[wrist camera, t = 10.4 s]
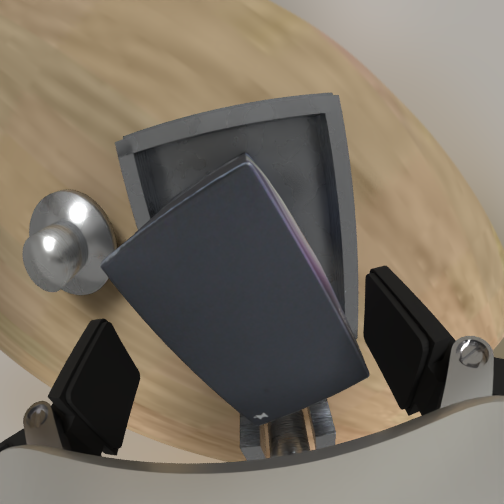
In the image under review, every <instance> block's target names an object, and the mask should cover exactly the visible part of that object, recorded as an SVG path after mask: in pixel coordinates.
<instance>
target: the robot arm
mask: <svg viewBox="0 0 504 504" xmlns="http://www.w3.org/2000/svg"><path fill="white" fill-rule="evenodd" d="M363 333H364V339H365V342H366V344H367V346H368V348H369V349H370V351H371V353H372V355H373V357H374V359H375V361H376V362H377V364H378V366H379V368H380V370H381V372H382V374H383V376H384V378H385V380H386V382H387V383H388V385H389V387H390V389H391V391H392V393H393V395H394V397H395V399H396V401H397V403H398V405H399V407H400V408H401V409H402V410H403V409H405V410H406V412H407V414H408V416H409V415H412V414H414V413H416V412H419V411H420V413H421V415H422V416H420V417H417V418H415V419H412V420H410V421H407V422H405V423H402V424H400V425H397V426H394V427H391V428H389V429H386V430H383V431H380V432H377V433H374V434H371V435H368V436H364V437H361V438H358V439H355V440H351V441H348V442H344V443H341V444H337V445H333V446H329V447H325V448H321V449H316V450H312V451H307V452H302V453H297V454H292V455H286V456H280V457H273V458H266V459H258V460H249V461H239V462H226V463H207V464H206V463H203V464H175V463H153V462H140V461H130V460H121V459H114V458H106V457H102V456H101V453H102V452H104V453H105V454H110V455H117V452H118V448H120V447H121V446H122V443H123V439H124V435H125V431H126V427H127V423H128V420H129V416H130V412H131V409H132V405H133V402H134V398H135V395H136V391H137V388H138V384H139V381H140V373H139V371H138V369H137V367H136V366H135V364H134V362H133V361H132V359H131V357H130V356H129V354H128V352H127V351H126V349H125V347H124V345H123V344H122V342H121V340H120V338H119V336H118V335H117V333H116V331H115V329H114V327H113V325H112V324H111V323H110V322H108V321H107V320H106V319H97V320H92V321H90V323H89V324H88V326H87V328H86V329H85V331H84V332H83V334H82V336H81V337H80V339H79V341H78V342H77V344H76V346H75V347H74V349H73V351H72V353H71V354H70V356H69V358H68V360H67V361H66V363H65V365H64V367H63V368H62V370H61V372H60V374H59V376H58V378H57V379H56V381H55V383H54V385H53V387H52V389H51V391H50V393H49V395H48V398H49V399H50V400H51V401H52V402H53V404H52V406H50V404H49V403H47V402H45V401H39V402H36V403H34V404H33V405H32V406H30V408H29V409H28V410H27V411H26V413H25V416H24V420H23V424H24V429H22V430H21V431H19V432H17V433H16V434H14V435H12V436H11V437H9V438H8V439H6V440H4V441H3V442H2V443H0V504H504V359H500V358H495V357H494V356H493V350H492V348H491V347H490V345H489V344H488V343H487V342H486V341H485V340H483V339H481V338H479V337H475V336H465V337H461V338H460V339H458V340H456V341H455V339H454V338H453V337H452V336H451V335H450V334H449V332H448V331H447V330H446V329H445V328H444V326H443V325H442V324H441V323H440V322H439V321H438V320H437V318H436V317H435V316H434V315H433V314H432V313H431V312H430V311H429V310H428V308H427V307H426V306H425V305H424V304H423V303H422V302H421V301H420V300H419V299H418V298H417V297H416V296H415V295H414V293H413V292H412V291H411V290H410V289H409V288H408V287H407V286H406V285H405V284H404V283H403V282H402V281H401V280H400V279H399V278H398V277H397V276H396V275H395V274H394V273H393V272H392V271H391V270H390V269H389V268H388V267H387V266H382V267H378V268H374V269H371V270H370V274H367V275H366V280H365V314H364V332H363Z"/></svg>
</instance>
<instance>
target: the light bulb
mask: <svg viewBox="0 0 504 504" xmlns="http://www.w3.org/2000/svg"><path fill="white" fill-rule="evenodd" d="M268 433H269V446H270V458H273V457H280V456H286V455H292V454H297V453H302V452H307V451H310V447H309V442H308V436H307V431H306V425H305V420H304V415H303V411H302V410H299V411H297V412H294V413H292V414H289V415H287V416H284V417H282V418H279V419H276V420H274V421H271V422H268Z"/></svg>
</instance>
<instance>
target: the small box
mask: <svg viewBox="0 0 504 504" xmlns="http://www.w3.org/2000/svg"><path fill="white" fill-rule="evenodd" d="M100 267H101V269H102V270H103V271H104V273H105V274H106V275H107V277H108V278H109V279H110V280H111V282H112V283H113V284H114V285H115V286H116V288H117V289H118V290H119V291H120V293H121V294H122V295H123V296H124V297H125V299H126V300H127V301H128V302H129V303H130V305H131V306H132V307H133V308H134V309H135V311H136V312H137V313H138V314H139V315H140V316H141V317H142V319H143V320H144V321H145V322H146V323H147V324H148V325H149V326H150V327H151V329H152V330H153V331H154V332H155V333H156V334H157V335H158V336H159V337H160V338H161V339H162V341H163V342H164V343H165V344H166V345H167V346H168V347H169V348H170V349H171V350H172V351H173V352H174V353H175V354H176V355H177V356H178V357H179V358H180V359H181V360H182V361H183V362H184V363H185V364H186V365H187V366H188V367H189V368H190V369H191V370H192V371H193V372H194V373H195V374H196V375H197V376H198V377H200V378H201V379H202V380H203V381H204V382H205V383H206V384H207V385H208V386H209V387H210V388H212V389H213V390H214V391H215V392H216V393H217V394H218V395H219V396H221V397H222V398H223V399H224V400H225V401H226V402H227V403H229V404H230V405H231V406H232V407H233V408H234V409H236V410H237V411H238V412H239V413H241V414H242V415H243V416H244V417H245V418H247V419H248V420H249V421H250V422H252V423H253V424H254V425H256V426H260V425H263V424H266V423H268V422H271V421H274V420H276V419H279V418H282V417H284V416H287V415H289V414H292V413H294V412H297V411H299V410H302V409H304V408H306V407H309V406H311V405H313V404H316V403H318V402H320V401H322V400H324V399H326V398H328V397H331V396H333V395H335V394H337V393H339V392H341V391H343V390H345V389H347V388H349V387H351V386H353V385H355V384H357V383H358V382H360V381H362V380H364V379H366V378H368V377H369V371H368V368H367V366H366V364H365V361H364V358H363V356H362V353H361V351H360V349H359V346H358V344H357V341H356V339H355V337H354V334H353V332H352V330H351V327H350V325H349V323H348V321H347V318H346V316H345V314H344V312H343V310H342V308H341V306H340V303H339V301H338V299H337V297H336V295H335V293H334V291H333V289H332V287H331V285H330V283H329V281H328V278H327V276H326V274H325V272H324V270H323V268H322V266H321V264H320V262H319V261H318V259H317V257H316V255H315V254H314V252H313V250H312V248H311V247H310V245H309V243H308V242H307V240H306V238H305V236H304V235H303V233H302V231H301V230H300V228H299V226H298V225H297V223H296V221H295V220H294V218H293V216H292V215H291V213H290V212H289V210H288V208H287V207H286V205H285V203H284V202H283V200H282V199H281V197H280V196H279V194H278V193H277V191H276V190H275V188H274V187H273V186H272V184H271V183H270V181H269V180H268V178H267V177H266V176H265V174H264V173H263V172H262V170H261V169H260V168H259V166H258V165H257V164H256V163H255V162H254V160H253V159H252V158H251V157H250V156H249V155H248V154H247V153H242V154H240V155H238V156H237V157H235V158H233V159H232V160H230V161H228V162H227V163H225V164H223V165H222V166H220V167H218V168H217V169H215V170H214V171H212V172H211V173H209V174H208V175H206V176H204V177H203V178H201V179H200V180H198V181H197V182H195V183H194V184H192V185H191V186H189V187H188V188H186V189H185V190H183V191H182V192H181V193H179V194H178V195H176V196H175V197H173V198H172V199H171V200H170V201H169V202H168V204H167V205H166V206H165V207H163V208H162V209H161V210H160V211H159V212H158V213H157V214H156V215H155V216H153V217H152V218H151V219H150V220H149V221H148V222H147V223H145V224H144V225H143V226H142V227H141V228H140V229H139V230H138V231H137V232H136V233H135V234H134V235H133V236H132V237H130V238H129V239H128V240H127V241H126V242H124V243H123V244H122V245H121V246H119V247H118V248H117V249H116V250H114V251H113V252H112V253H110V254H109V255H108V256H107V257H106V258H105V259H104V260H103V261H102V263H101V265H100Z"/></svg>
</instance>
